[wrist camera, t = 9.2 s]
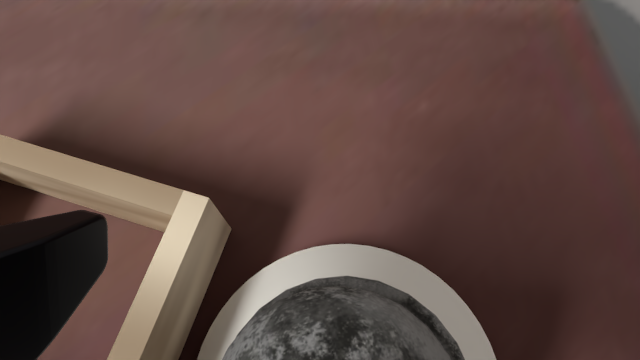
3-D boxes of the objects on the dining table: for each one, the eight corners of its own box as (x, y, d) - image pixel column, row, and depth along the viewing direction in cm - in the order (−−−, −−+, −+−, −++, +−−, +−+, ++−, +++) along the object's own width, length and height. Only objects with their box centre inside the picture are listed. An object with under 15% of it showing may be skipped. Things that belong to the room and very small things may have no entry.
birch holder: (101, 549, 14) (40, 586, 12) (-175, 427, 16) (-286, 433, 13) (231, 228, 18) (209, 197, 15) (-8, 154, 19) (-68, 113, 16)
